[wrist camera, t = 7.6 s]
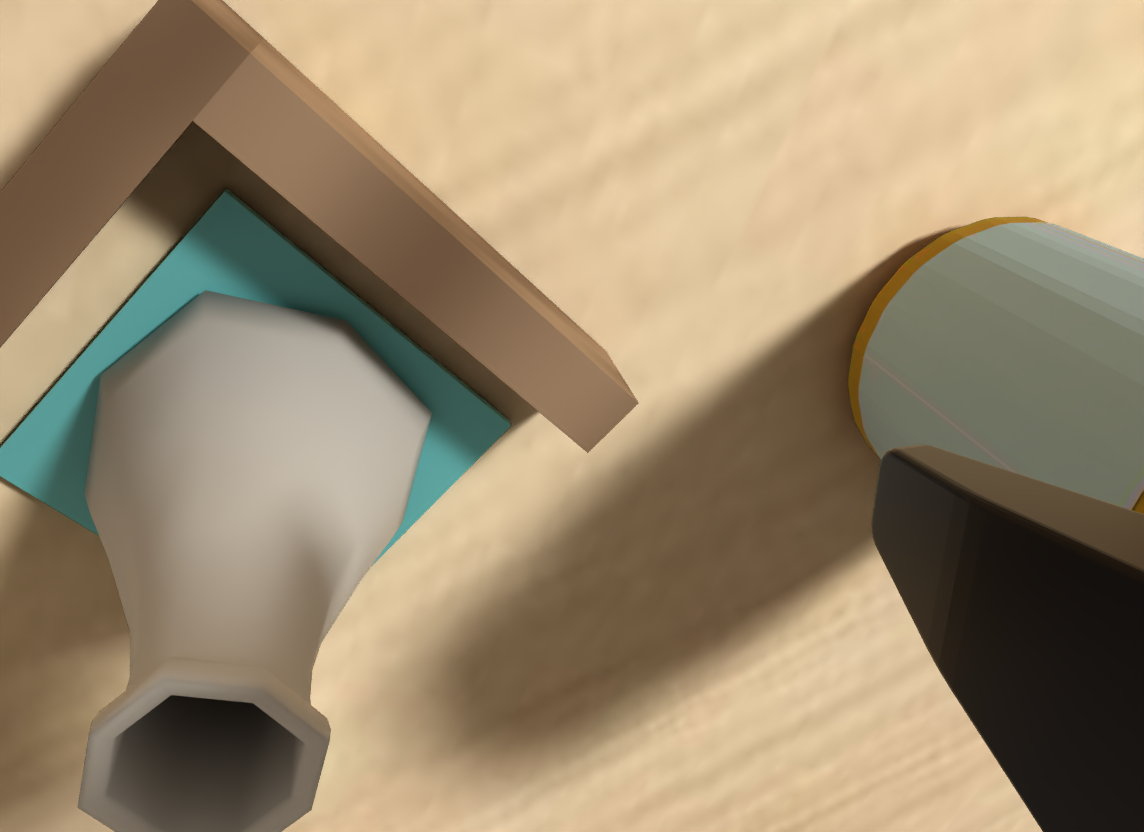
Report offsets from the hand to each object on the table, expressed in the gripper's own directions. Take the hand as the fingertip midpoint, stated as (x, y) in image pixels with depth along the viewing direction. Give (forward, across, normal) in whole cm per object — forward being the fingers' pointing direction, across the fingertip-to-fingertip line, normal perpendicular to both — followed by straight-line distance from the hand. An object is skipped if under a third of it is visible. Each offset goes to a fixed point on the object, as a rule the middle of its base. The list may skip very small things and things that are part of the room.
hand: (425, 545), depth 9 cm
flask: (+13, +3, +5) cm, 15 cm away
